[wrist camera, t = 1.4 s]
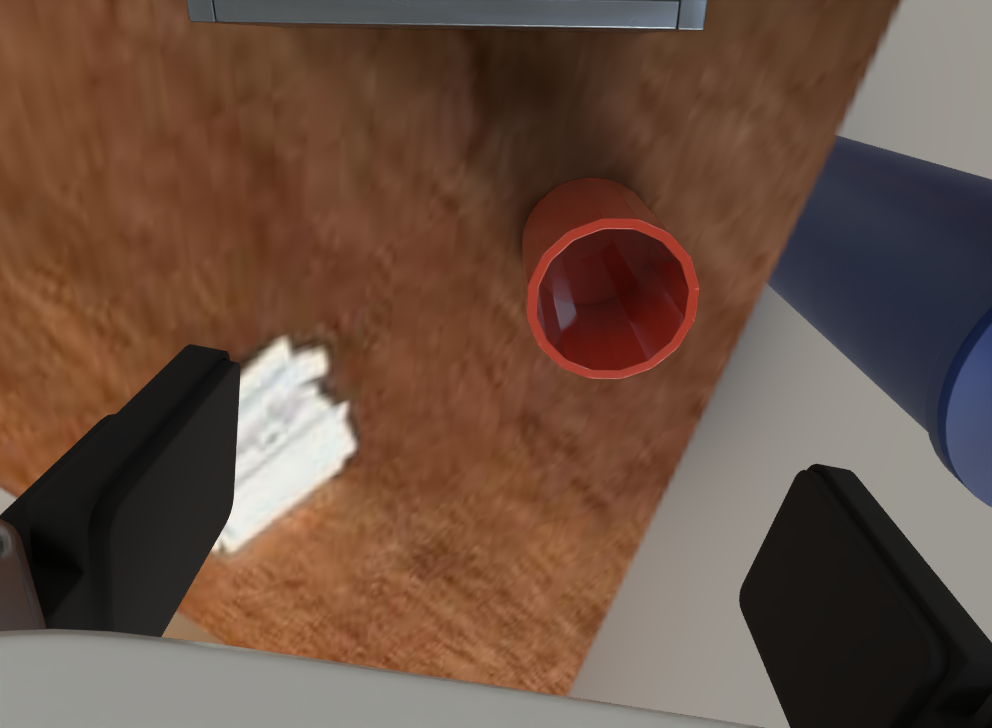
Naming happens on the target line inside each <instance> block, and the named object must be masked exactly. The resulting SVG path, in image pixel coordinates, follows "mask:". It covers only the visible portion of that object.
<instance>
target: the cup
mask: <svg viewBox="0 0 992 728" xmlns="http://www.w3.org/2000/svg"><path fill="white" fill-rule="evenodd" d="M522 270H523V281H524V293H525V305H526V316H527V320H528V322H529V325H530V327H531V330H532V332H533V335H534V337H535V340H536V342H537V344H538V346H539V347H540V348H541V349H542V350H543V351H544V352H545V353H546V354H547V355H548V356H549V357H550V358H551V359H552V360H553V361H554V362H555V363H556V364H557V365H559V366H560V367H562V368H564V369H567V370H569V371H572V372H574V373H577V374H579V375H582V376H584V377H587V378H593V379H622V378H625V377H628V376H631V375H634V374H637V373H640V372H643V371H646V370H649V369H651V368H653V367H654V366H656V365H657V364H658V363H660V362H661V361H662V360H663V359H665V358H666V357H667V356H668V355H670V354H671V353H672V352H674V351H675V350H676V349H677V348H678V347H679V345H680V344H681V342H682V340H683V339H684V337H685V335H686V334H687V332H688V330H689V329H690V327H691V325H692V324H693V322H694V320H695V315H696V309H697V302H698V296H699V284H698V280H697V277H696V273H695V270H694V266H693V263H692V259H691V258H690V256H689V254H688V253H687V252H686V251H685V250H684V249H683V247H682V246H681V245H680V244H679V243H678V242H677V241H676V239H675V238H674V237H673V236H672V235H671V234H670V232H669V231H668V230H667V229H666V228H665V227H664V226H663V224H662V223H661V222H660V221H659V220H658V219H657V217H656V216H655V215H654V214H653V213H652V212H651V211H650V209H649V208H648V207H647V206H646V205H645V204H644V202H643V201H642V200H641V199H640V198H639V197H638V196H637V194H636V193H635V192H633V191H632V190H630V189H629V188H627V187H625V186H624V185H622V184H620V183H618V182H615V181H612V180H609V179H604V178H595V177H590V178H580V179H575V180H572V181H569V182H566V183H564V184H562V185H560V186H558V187H556V188H554V189H553V190H551V191H550V192H549V193H547V194H546V195H545V196H544V197H543V198H542V199H541V200H540V201H539V202H538V203H537V204H536V206H535V207H534V209H533V210H532V212H531V214H530V215H529V217H528V219H527V222H526V224H525V227H524V231H523V235H522Z"/></svg>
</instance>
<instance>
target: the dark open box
mask: <svg viewBox="0 0 992 728" xmlns="http://www.w3.org/2000/svg"><path fill="white" fill-rule="evenodd" d="M187 7H188V13H189V19H190V21H191V22H204V23H221V24H238V25H256V26H274V27H317V28H377V29H437V30H497V31H557V32H617V33H656V32H676V31H697V30H703V29H704V22H705V15H706V7H707V0H187Z"/></svg>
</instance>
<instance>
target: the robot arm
mask: <svg viewBox="0 0 992 728" xmlns="http://www.w3.org/2000/svg"><path fill="white" fill-rule="evenodd" d="M239 388H240V365H239V363H238V362H233V361H230V357H229V354H228V352H227V351H223V350H218V349H213V348H207V347H202V346H197V345H191V344H189V345H188V346H186V347H185V348H184V349H183V350H182V351H181V352H180V353H179V354H178V355H177V356H176V357H175V358H174V359H172V360H171V361H170V362H169V363H168V364H167V365H166V366H165V367H164V368H163V369H162V370H161V371H160V372H159V373H158V374H157V375H156V376H155V377H154V378H153V379H152V380H151V381H150V382H149V383H148V384H147V385H146V386H145V387H144V388H143V389H142V390H141V391H139V392H138V393H137V394H136V395H135V396H134V397H133V398H132V399H131V400H130V401H129V402H128V403H127V404H126V405H125V406H124V407H123V408H122V409H121V410H120V411H119V412H118V413H117V414H112V415H107V416H106V417H104V418H103V419H102V420H100V421H99V422H98V423H97V424H96V425H95V426H94V427H93V428H92V429H91V430H90V431H89V432H88V433H87V434H85V435H84V436H83V437H82V438H81V439H80V440H79V441H78V442H77V443H76V444H75V445H74V446H73V447H72V448H71V449H70V450H69V451H67V452H66V453H65V454H64V455H63V456H62V457H61V458H60V459H59V460H58V461H57V462H56V463H55V464H54V465H53V466H52V467H51V468H50V469H48V470H47V471H46V472H45V473H44V474H43V475H42V476H41V477H40V478H39V479H38V480H37V481H36V482H35V483H34V484H33V485H32V486H31V487H29V488H28V489H27V490H26V491H25V492H24V493H23V494H22V495H21V496H20V497H19V498H18V499H17V500H16V501H15V502H14V503H13V504H12V505H10V506H9V507H8V508H7V509H6V510H5V511H4V512H3V513H2V514H1V515H0V728H763V727H758V726H751V725H745V724H739V723H733V722H726V721H721V720H714V719H708V718H702V717H696V716H689V715H682V714H676V713H670V712H663V711H656V710H651V709H644V708H637V707H632V706H625V705H619V704H612V703H606V702H600V701H592V700H587V699H580V698H574V697H567V696H561V695H554V694H548V693H541V692H535V691H528V690H522V689H515V688H509V687H503V686H496V685H490V684H483V683H476V682H470V681H463V680H456V679H450V678H443V677H436V676H429V675H423V674H416V673H409V672H403V671H396V670H389V669H383V668H376V667H369V666H362V665H356V664H349V663H342V662H336V661H329V660H322V659H316V658H309V657H302V656H295V655H289V654H282V653H275V652H269V651H262V650H255V649H249V648H242V647H235V646H228V645H222V644H215V643H207V642H198V641H189V640H181V639H172V638H163V637H161V636H162V635H163V633H164V631H165V629H166V628H167V626H168V624H169V622H170V621H171V619H172V617H173V615H174V614H175V612H176V610H177V608H178V607H179V605H180V603H181V601H182V600H183V598H184V596H185V594H186V593H187V591H188V589H189V587H190V586H191V584H192V582H193V580H194V579H195V577H196V575H197V573H198V572H199V570H200V568H201V566H202V565H203V563H204V561H205V559H206V558H207V556H208V554H209V552H210V551H211V549H212V547H213V545H214V544H215V542H216V540H217V538H218V537H219V535H220V533H221V531H222V530H223V528H224V526H225V524H226V523H227V521H228V518H229V516H230V513H231V509H232V505H233V499H234V482H235V463H236V444H237V426H238V407H239ZM739 602H740V608H741V611H742V613H743V616H744V618H745V620H746V623H747V625H748V628H749V630H750V632H751V635H752V637H753V640H754V642H755V644H756V647H757V649H758V652H759V654H760V656H761V659H762V661H763V663H764V666H765V668H766V671H767V673H768V675H769V678H770V680H771V683H772V685H773V687H774V690H775V692H776V694H777V697H778V699H779V702H780V704H781V706H782V709H783V711H784V714H785V716H786V718H787V721H788V723H789V726H790V728H992V643H991V641H990V640H989V639H988V638H987V636H986V635H985V634H984V633H983V631H982V630H981V629H980V628H979V627H978V625H977V624H976V623H975V622H974V621H973V619H972V618H971V617H970V615H969V614H968V613H967V612H966V611H965V609H964V608H963V607H962V606H961V604H960V603H959V602H958V601H957V599H956V598H955V597H954V596H953V594H952V593H951V592H950V591H949V590H948V588H947V587H946V586H945V585H944V584H943V582H942V581H941V580H940V578H939V577H938V576H937V575H936V574H935V572H934V571H933V570H932V569H931V567H930V566H929V565H928V564H927V563H926V561H925V560H924V559H923V557H922V556H921V555H920V554H919V553H918V551H917V550H916V549H915V548H914V547H913V545H912V544H911V543H910V541H909V540H908V539H907V538H906V537H905V535H904V534H903V533H902V532H901V530H900V529H899V528H898V527H897V525H896V524H895V523H894V522H893V521H892V519H891V518H890V517H889V516H888V514H887V513H886V512H885V511H884V509H883V508H882V507H881V506H880V505H879V503H878V502H877V501H876V500H875V499H874V497H873V496H872V495H871V494H870V492H869V491H868V490H867V488H866V487H865V486H864V485H863V484H862V482H861V481H860V480H859V479H858V477H857V476H856V475H855V474H854V473H853V472H852V471H850V470H846V469H841V468H836V467H831V466H826V465H820V464H814V465H811V466H810V467H809V468H808V469H807V470H802V471H800V472H799V473H798V474H797V475H796V477H795V479H794V481H793V483H792V485H791V487H790V489H789V491H788V493H787V495H786V497H785V499H784V501H783V503H782V505H781V507H780V509H779V511H778V513H777V515H776V517H775V519H774V521H773V524H772V525H771V527H770V530H769V532H768V534H767V536H766V538H765V540H764V542H763V544H762V546H761V548H760V550H759V552H758V554H757V556H756V558H755V560H754V562H753V564H752V566H751V568H750V570H749V572H748V574H747V576H746V578H745V580H744V582H743V585H742V587H741V590H740V597H739Z"/></svg>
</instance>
